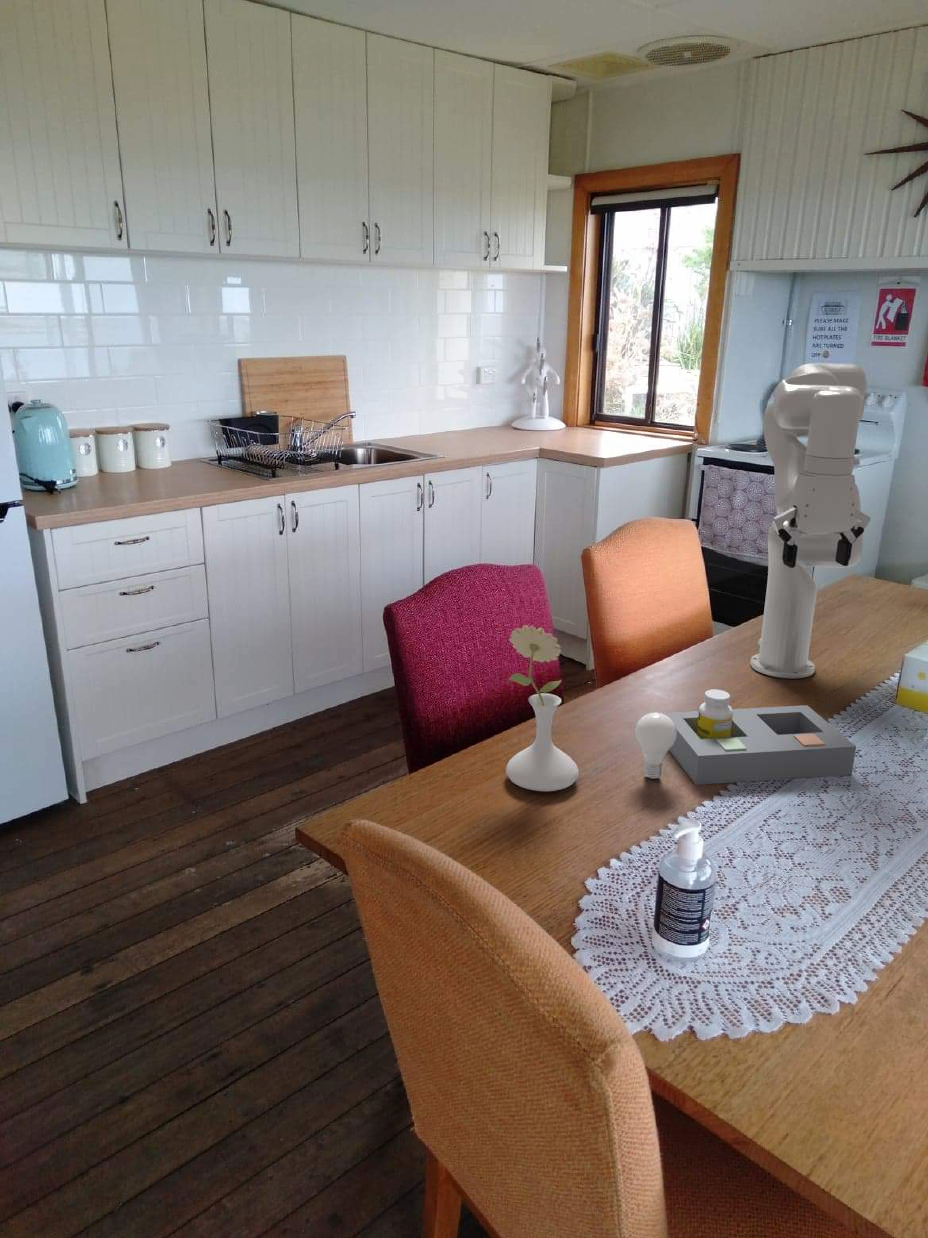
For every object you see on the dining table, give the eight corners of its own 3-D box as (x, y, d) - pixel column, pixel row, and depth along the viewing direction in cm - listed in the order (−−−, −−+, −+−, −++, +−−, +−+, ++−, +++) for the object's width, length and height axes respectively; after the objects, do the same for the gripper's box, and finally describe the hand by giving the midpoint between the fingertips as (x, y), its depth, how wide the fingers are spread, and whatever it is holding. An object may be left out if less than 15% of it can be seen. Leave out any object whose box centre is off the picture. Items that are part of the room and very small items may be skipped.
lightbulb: (675, 772, 148) (680, 709, 145) (669, 790, 142) (675, 725, 139) (635, 765, 150) (639, 703, 147) (628, 783, 144) (633, 719, 141)
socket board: (661, 739, 159) (663, 711, 158) (803, 731, 163) (807, 703, 161) (695, 784, 144) (698, 754, 143) (851, 774, 148) (856, 744, 146)
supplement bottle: (690, 741, 156) (695, 688, 153) (721, 739, 157) (727, 686, 153) (702, 756, 151) (708, 701, 148) (734, 754, 152) (740, 700, 148)
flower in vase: (593, 780, 145) (601, 630, 137) (546, 807, 138) (552, 649, 130) (530, 753, 154) (534, 610, 146) (482, 776, 146) (485, 627, 138)
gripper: (864, 461, 160) (850, 557, 165) (769, 463, 157) (758, 560, 163) (889, 469, 153) (873, 569, 158) (790, 470, 150) (777, 572, 156)
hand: (815, 564), depth 160 cm, fingers open, 9 cm apart
